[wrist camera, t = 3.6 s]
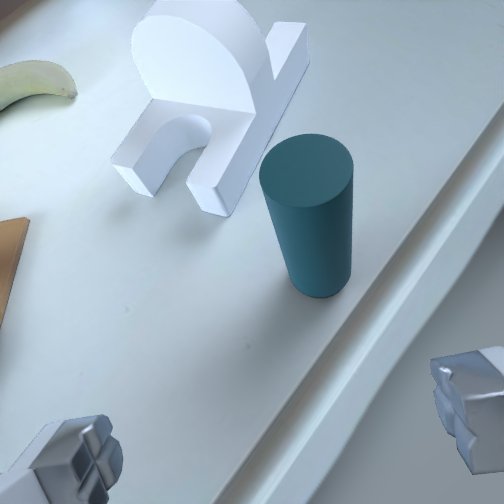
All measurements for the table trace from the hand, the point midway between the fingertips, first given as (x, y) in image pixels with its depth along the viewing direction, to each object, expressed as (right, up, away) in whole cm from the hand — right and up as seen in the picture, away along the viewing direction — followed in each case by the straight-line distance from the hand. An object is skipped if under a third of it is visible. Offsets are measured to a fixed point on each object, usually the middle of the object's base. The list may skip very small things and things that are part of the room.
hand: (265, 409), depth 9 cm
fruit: (-27, +19, +33) cm, 47 cm away
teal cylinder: (+4, +2, +16) cm, 17 cm away
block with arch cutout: (-3, +15, +25) cm, 30 cm away
